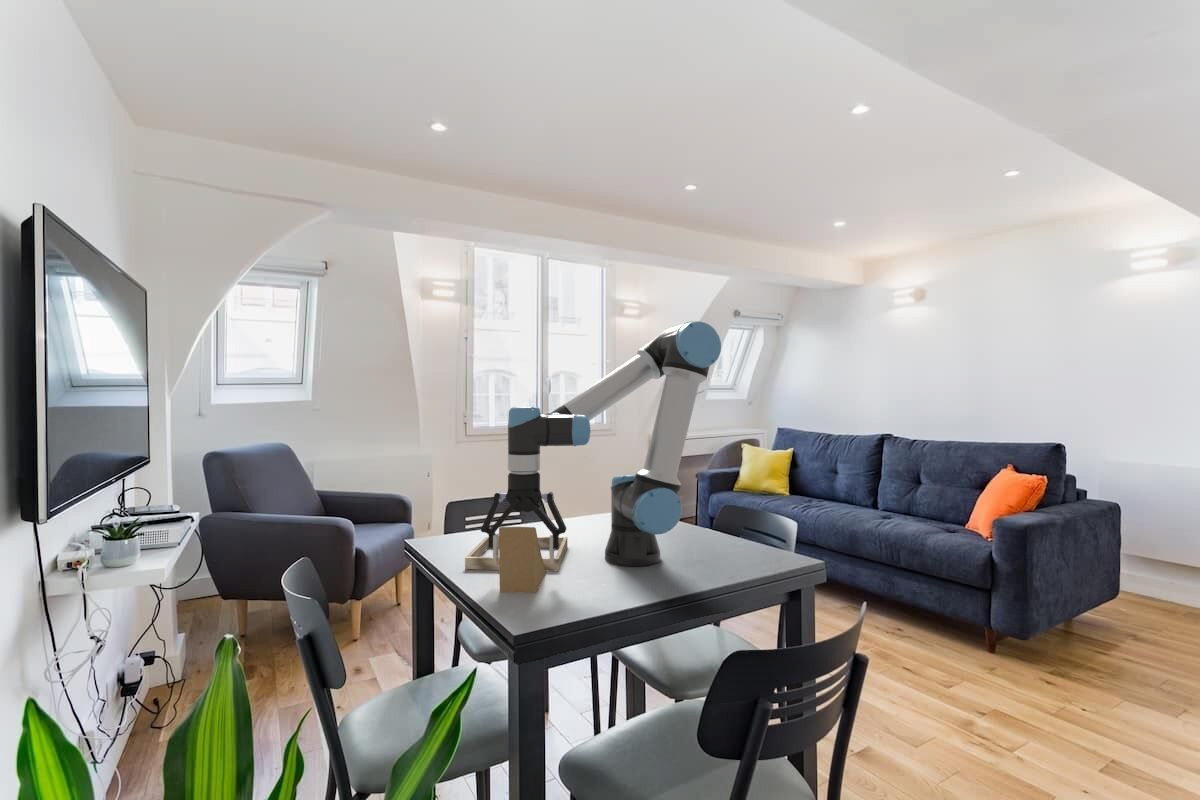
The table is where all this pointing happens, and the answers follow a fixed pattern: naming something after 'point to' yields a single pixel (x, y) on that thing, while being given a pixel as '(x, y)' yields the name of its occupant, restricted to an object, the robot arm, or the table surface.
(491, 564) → the pale wooden box
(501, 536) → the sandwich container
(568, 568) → the table surface
